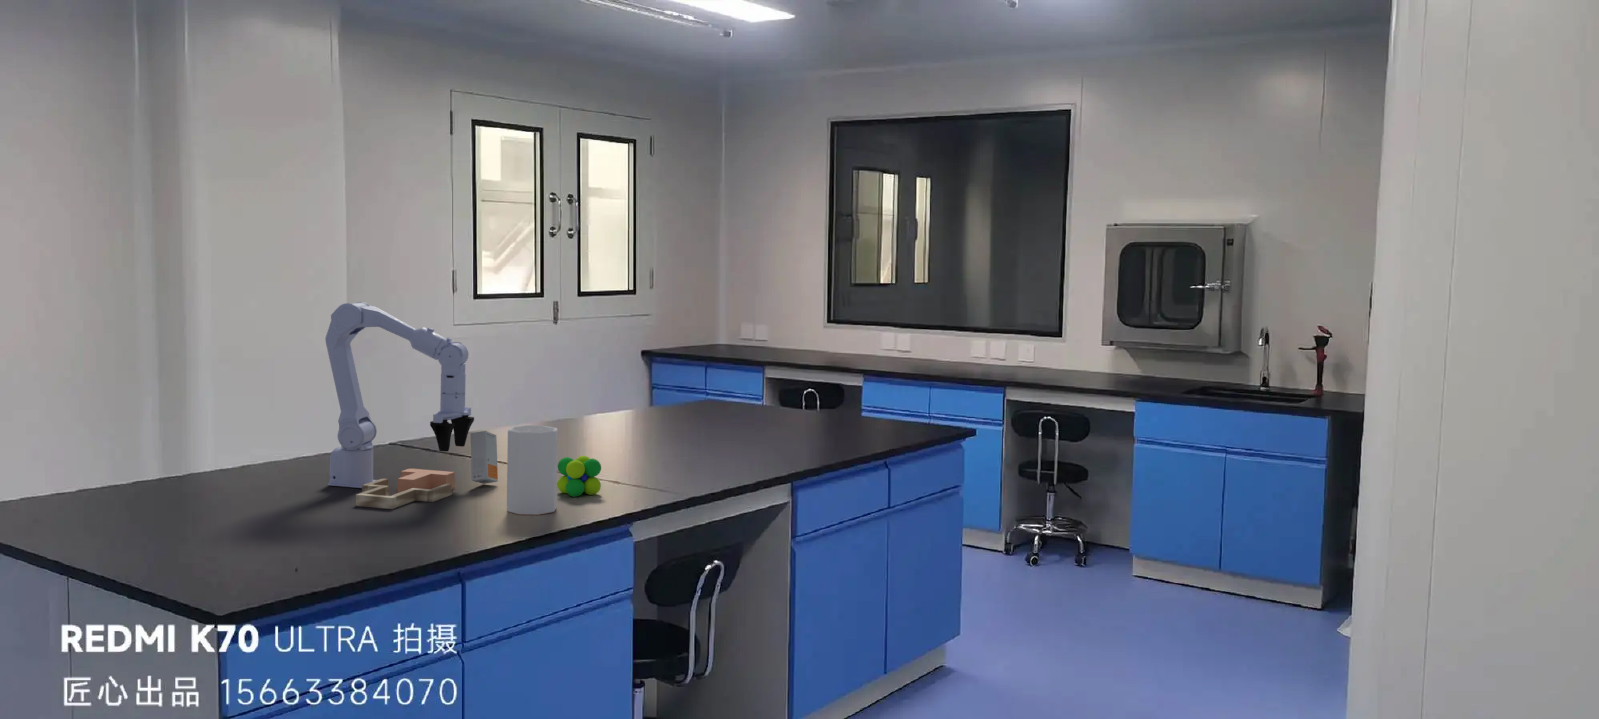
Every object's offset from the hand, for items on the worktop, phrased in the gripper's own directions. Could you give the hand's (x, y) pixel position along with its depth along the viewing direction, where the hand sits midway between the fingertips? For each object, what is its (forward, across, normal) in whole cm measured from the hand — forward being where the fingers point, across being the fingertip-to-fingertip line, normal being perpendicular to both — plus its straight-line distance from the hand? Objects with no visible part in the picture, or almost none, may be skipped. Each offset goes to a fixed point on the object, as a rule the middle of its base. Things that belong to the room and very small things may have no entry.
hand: (452, 448), depth 277 cm
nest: (+10, -16, +5) cm, 19 cm away
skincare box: (+8, +4, -7) cm, 12 cm away
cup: (+10, -15, -28) cm, 33 cm away
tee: (+10, -6, +5) cm, 13 cm away
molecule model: (+10, +5, -31) cm, 33 cm away
